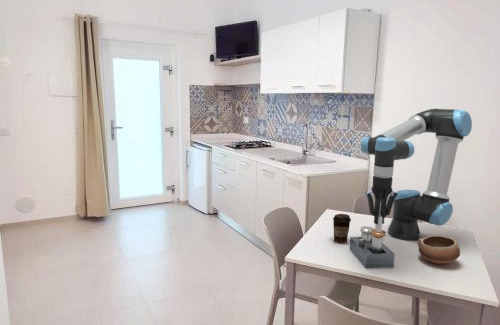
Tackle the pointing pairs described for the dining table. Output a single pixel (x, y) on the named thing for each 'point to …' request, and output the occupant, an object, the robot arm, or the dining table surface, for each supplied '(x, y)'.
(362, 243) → the knob
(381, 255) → the mount
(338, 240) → the coffee cup
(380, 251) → the orange light bulb
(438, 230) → the dining table surface
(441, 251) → the bowl
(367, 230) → the white light bulb
